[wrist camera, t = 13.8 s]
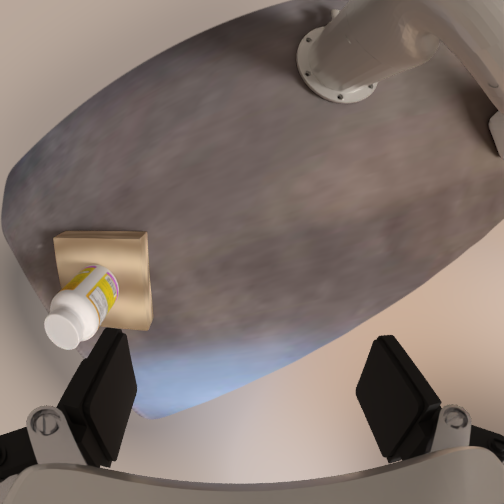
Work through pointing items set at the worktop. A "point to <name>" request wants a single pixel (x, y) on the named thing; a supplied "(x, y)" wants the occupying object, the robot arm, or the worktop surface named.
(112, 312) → the block
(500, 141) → the soap bottle
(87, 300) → the supplement bottle
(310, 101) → the worktop surface
